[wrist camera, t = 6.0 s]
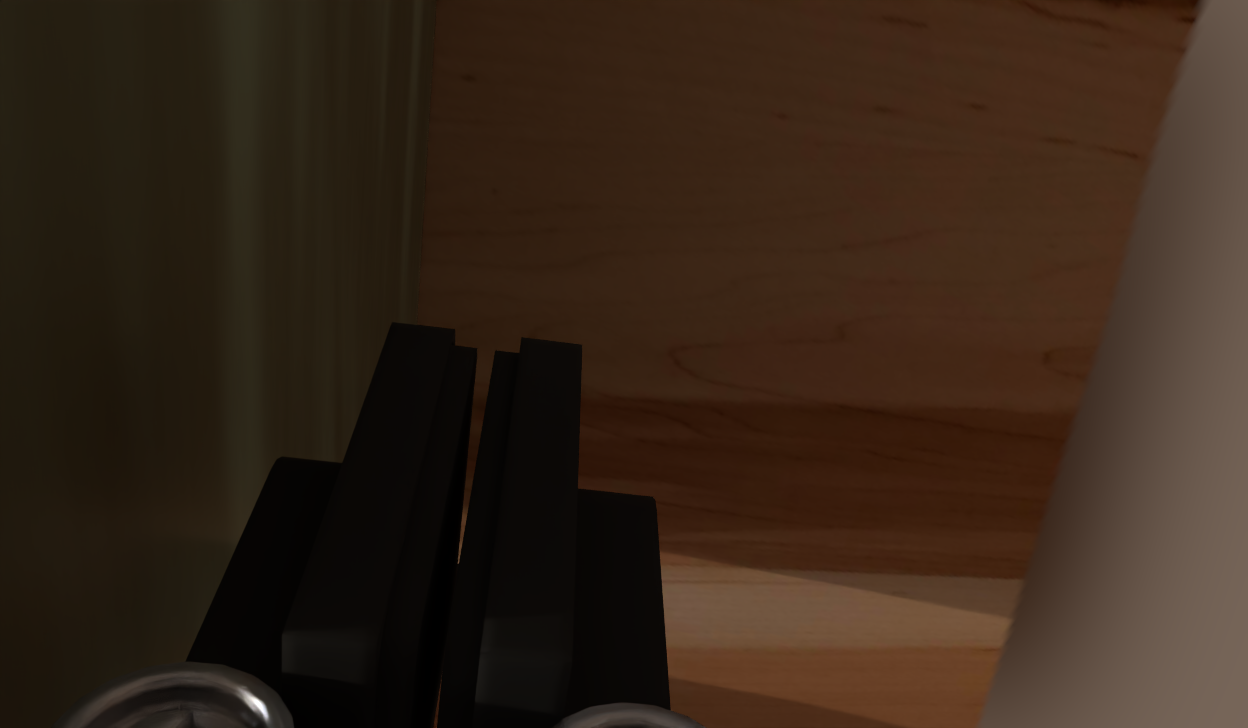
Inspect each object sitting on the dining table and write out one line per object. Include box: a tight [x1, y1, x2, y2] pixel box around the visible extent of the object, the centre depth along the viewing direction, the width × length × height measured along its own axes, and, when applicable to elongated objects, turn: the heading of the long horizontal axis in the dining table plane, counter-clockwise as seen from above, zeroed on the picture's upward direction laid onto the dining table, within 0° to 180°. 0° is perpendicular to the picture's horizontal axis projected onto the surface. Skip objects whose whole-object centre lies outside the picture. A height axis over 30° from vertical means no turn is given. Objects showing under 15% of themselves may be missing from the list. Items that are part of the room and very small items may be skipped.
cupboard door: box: [0, 0, 459, 728], centre depth 18 cm, size 6×26×24 cm, turn 172°
